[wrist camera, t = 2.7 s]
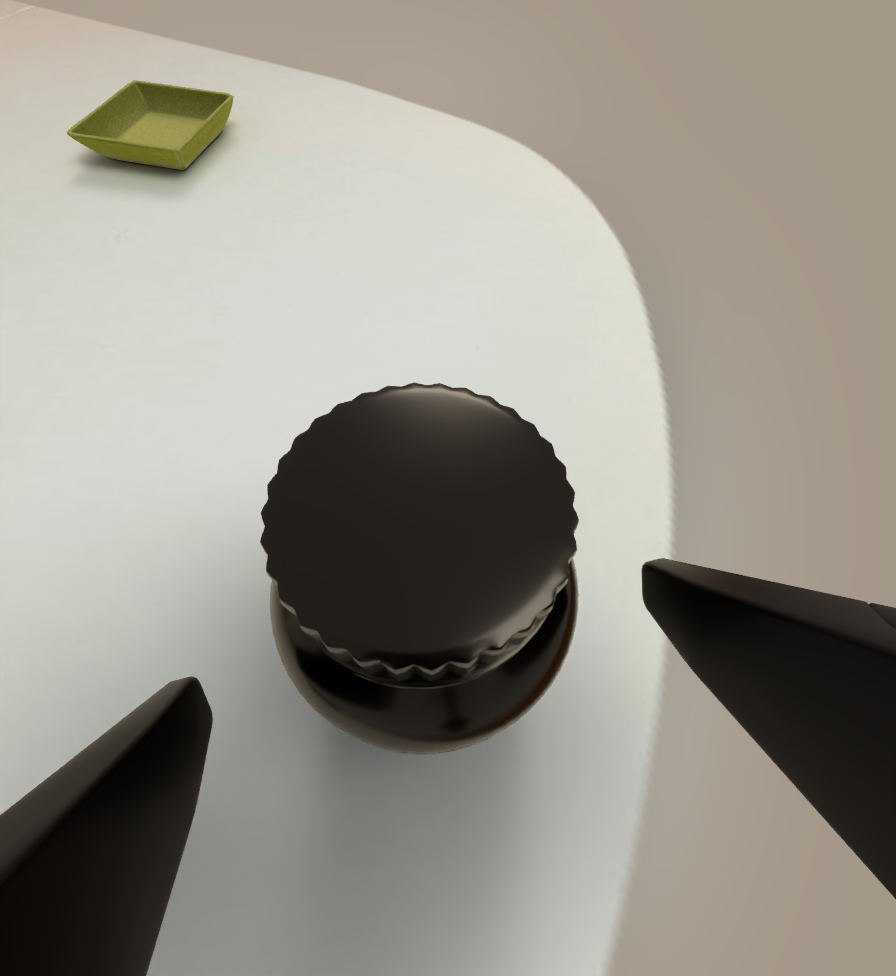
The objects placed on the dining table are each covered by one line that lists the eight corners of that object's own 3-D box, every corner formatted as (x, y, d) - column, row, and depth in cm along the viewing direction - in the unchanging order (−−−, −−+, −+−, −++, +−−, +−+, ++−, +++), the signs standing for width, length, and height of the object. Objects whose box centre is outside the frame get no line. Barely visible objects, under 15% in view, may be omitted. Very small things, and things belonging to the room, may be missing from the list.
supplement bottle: (488, 775, 15) (597, 900, 4) (309, 698, 16) (53, 648, 5) (539, 589, 18) (677, 398, 7) (387, 534, 19) (319, 299, 9)
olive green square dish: (245, 125, 36) (235, 92, 34) (192, 183, 32) (177, 149, 30) (148, 111, 37) (132, 79, 35) (84, 166, 33) (62, 133, 31)
